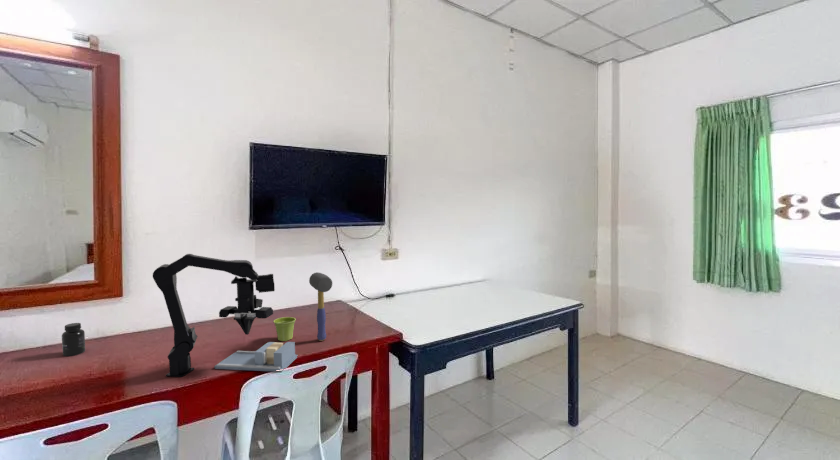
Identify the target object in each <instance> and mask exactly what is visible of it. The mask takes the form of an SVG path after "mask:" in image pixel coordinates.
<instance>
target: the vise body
mask: <svg viewBox="0 0 840 460" xmlns="http://www.w3.org/2000/svg"><path fill="white" fill-rule="evenodd" d="M295 343H296V341H287V342H285V343H283V346H282V347H280V348H279V349H278V350H277V351H275V352H274V364H267V363H265V364H264V365H255V351H256V350H252V351H251V350H236V351H235V352H233V353H232V354H231V355H229V356H227V357H226V358H225V359H223V360H221V361H220V362H219V363H217V364H216V365H214V369H216V370H236V371H256V372H257V371H258V372H259V371H260V372H274V371H276V370H280V369H284V368H286V369H287V368H288V367H289V366H290V365H291V364H292V363H293V362H294V361H295V360H296V359H297V358H298V357H297V356H298V354H296V344H295Z"/></svg>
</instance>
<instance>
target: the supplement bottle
mask: <svg viewBox="0 0 840 460" xmlns="http://www.w3.org/2000/svg"><path fill="white" fill-rule="evenodd" d="M61 343H62V344H61V347H62V348H61V349H62V355H63V356H64V357H74V356H78V355H81V354H83V353H85V352H86V335H85V330H84V329H82V324H81V322H73V323H72V322H71V323H68V324H65V325H64V332H63V333H62V334H61Z"/></svg>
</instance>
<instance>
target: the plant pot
mask: <svg viewBox="0 0 840 460" xmlns="http://www.w3.org/2000/svg"><path fill="white" fill-rule="evenodd" d="M296 320H297V319H296V318H295V317H291V316H285V317H284V316H283V317H278V318H276V319H274V320H273V323H274V326H275V330H276V335H277V341H281V342H286V341H287V342H289V340H292V339H293V336H294V335H293V334H294V328H295V327H294V326H295V322H296Z"/></svg>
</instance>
